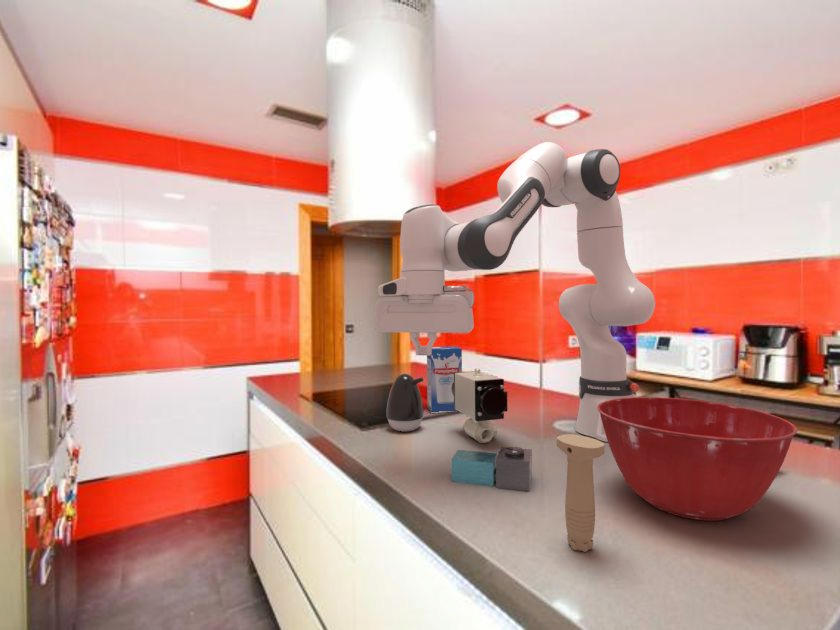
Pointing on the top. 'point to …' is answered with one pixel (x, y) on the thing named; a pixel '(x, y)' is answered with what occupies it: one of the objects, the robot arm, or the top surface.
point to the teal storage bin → (474, 467)
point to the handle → (580, 488)
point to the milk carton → (442, 377)
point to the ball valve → (479, 402)
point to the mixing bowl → (695, 453)
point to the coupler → (513, 469)
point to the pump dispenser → (405, 404)
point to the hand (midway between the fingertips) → (423, 355)
